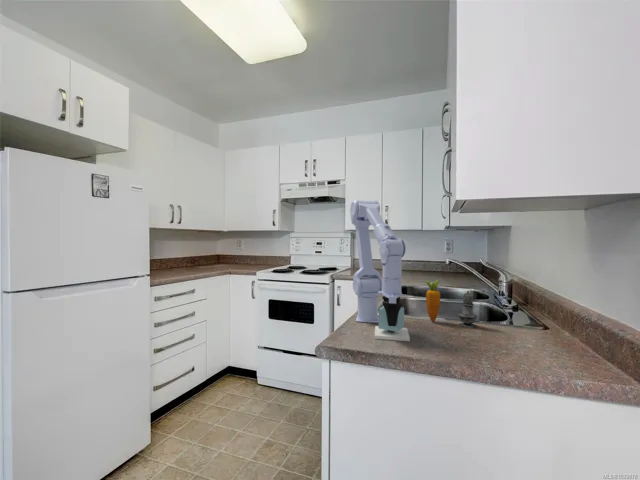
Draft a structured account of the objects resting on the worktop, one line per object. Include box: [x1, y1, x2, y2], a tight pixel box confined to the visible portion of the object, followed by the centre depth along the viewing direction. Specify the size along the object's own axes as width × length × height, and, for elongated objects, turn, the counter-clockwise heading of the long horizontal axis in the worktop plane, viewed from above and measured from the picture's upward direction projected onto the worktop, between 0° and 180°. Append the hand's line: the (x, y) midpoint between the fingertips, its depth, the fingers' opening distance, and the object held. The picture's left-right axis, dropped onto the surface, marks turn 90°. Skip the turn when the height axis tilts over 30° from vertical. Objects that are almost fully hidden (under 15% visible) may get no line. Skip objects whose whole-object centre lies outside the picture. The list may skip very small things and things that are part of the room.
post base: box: [374, 325, 411, 342], centre depth 93 cm, size 10×10×5 cm
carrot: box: [425, 279, 441, 323], centre depth 108 cm, size 5×5×15 cm
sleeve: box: [378, 305, 405, 332], centre depth 93 cm, size 6×6×6 cm
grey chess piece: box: [458, 290, 478, 329], centre depth 104 cm, size 6×6×12 cm
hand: (391, 322), depth 93 cm, fingers closed on sleeve, 7 cm apart
